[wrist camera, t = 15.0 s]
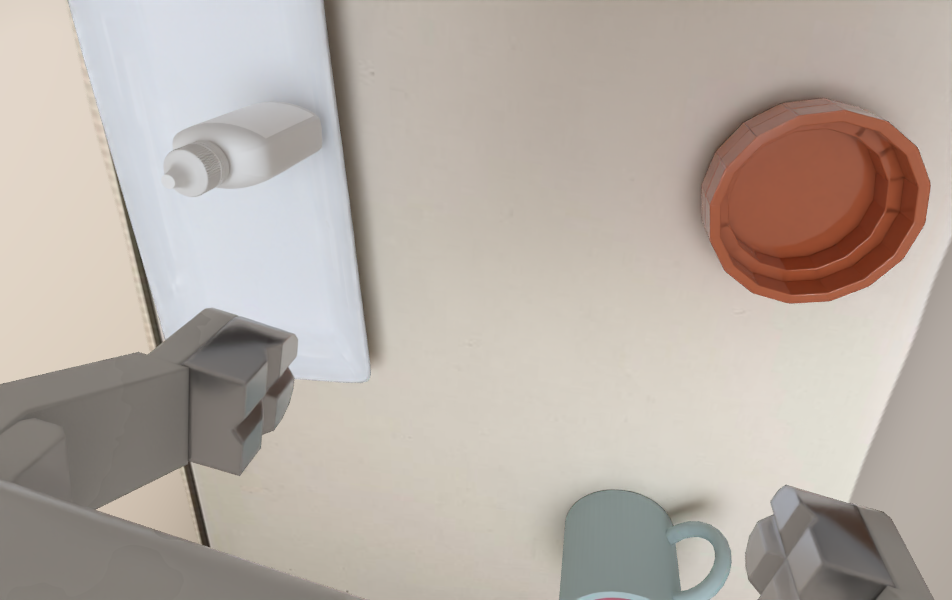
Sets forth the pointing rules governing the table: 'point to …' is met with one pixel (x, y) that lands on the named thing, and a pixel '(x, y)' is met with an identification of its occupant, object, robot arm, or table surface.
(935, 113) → the table surface
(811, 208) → the bowl
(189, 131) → the eye dropper bottle
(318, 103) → the tray
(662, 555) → the mug
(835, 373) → the table surface
